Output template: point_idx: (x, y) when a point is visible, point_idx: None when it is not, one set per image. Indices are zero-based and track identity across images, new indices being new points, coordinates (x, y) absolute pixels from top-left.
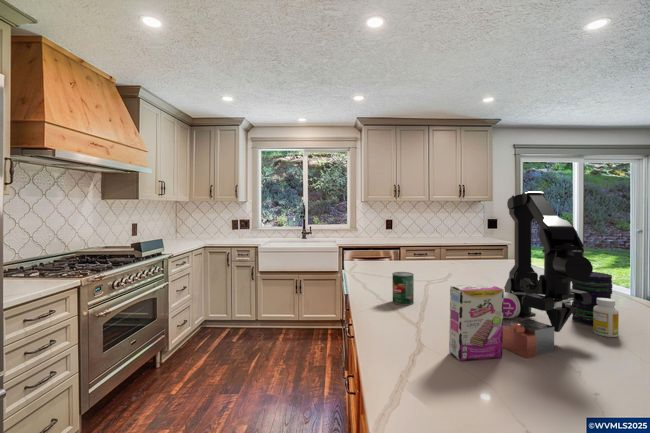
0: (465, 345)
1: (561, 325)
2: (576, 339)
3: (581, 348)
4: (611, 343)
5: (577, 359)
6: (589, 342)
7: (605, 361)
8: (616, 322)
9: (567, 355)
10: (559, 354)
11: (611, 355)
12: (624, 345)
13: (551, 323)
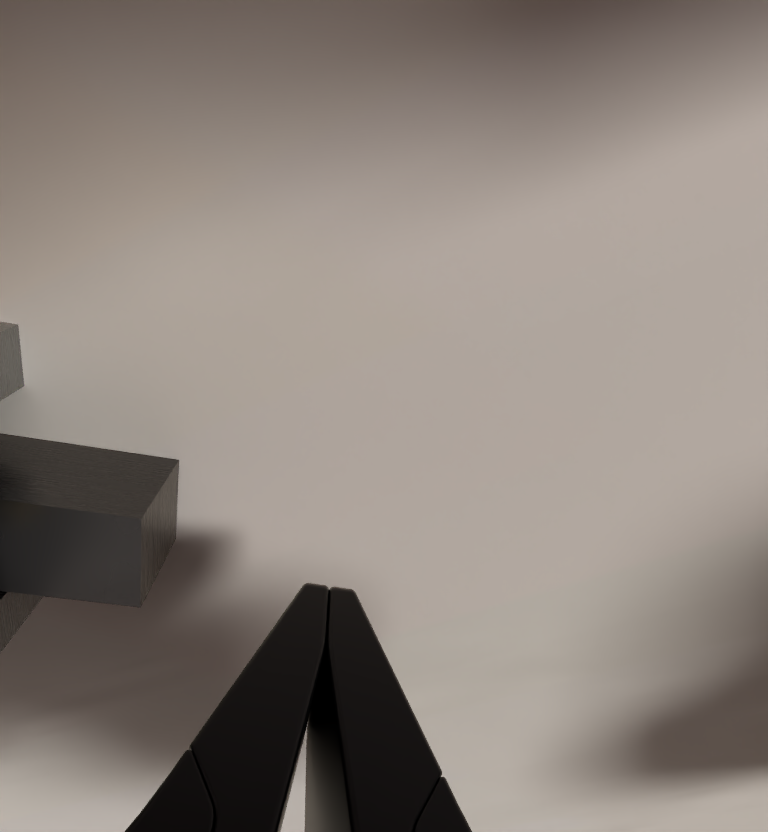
0: None
1: (306, 771)
2: (614, 577)
3: None
4: (723, 739)
5: (61, 741)
6: (609, 659)
7: None
8: None
9: (61, 683)
10: (8, 647)
11: None
12: (738, 786)
13: (248, 674)
